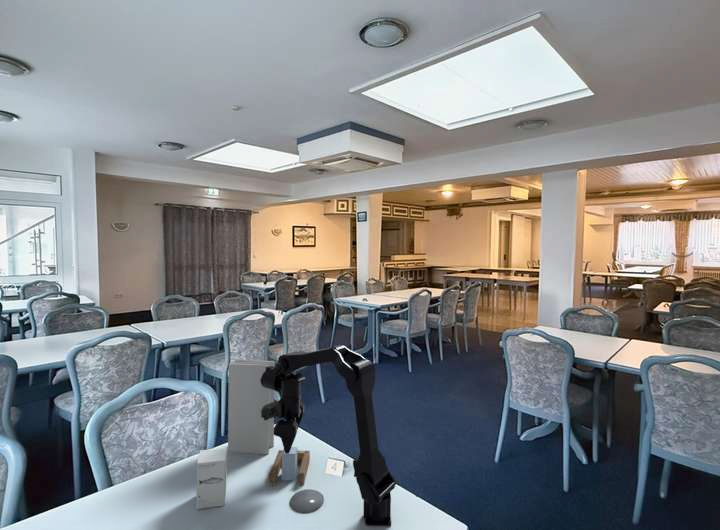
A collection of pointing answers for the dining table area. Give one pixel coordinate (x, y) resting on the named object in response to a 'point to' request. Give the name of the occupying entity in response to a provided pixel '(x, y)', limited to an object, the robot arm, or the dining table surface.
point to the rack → (302, 459)
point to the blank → (289, 464)
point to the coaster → (307, 500)
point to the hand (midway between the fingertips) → (290, 445)
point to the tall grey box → (249, 408)
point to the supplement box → (211, 478)
